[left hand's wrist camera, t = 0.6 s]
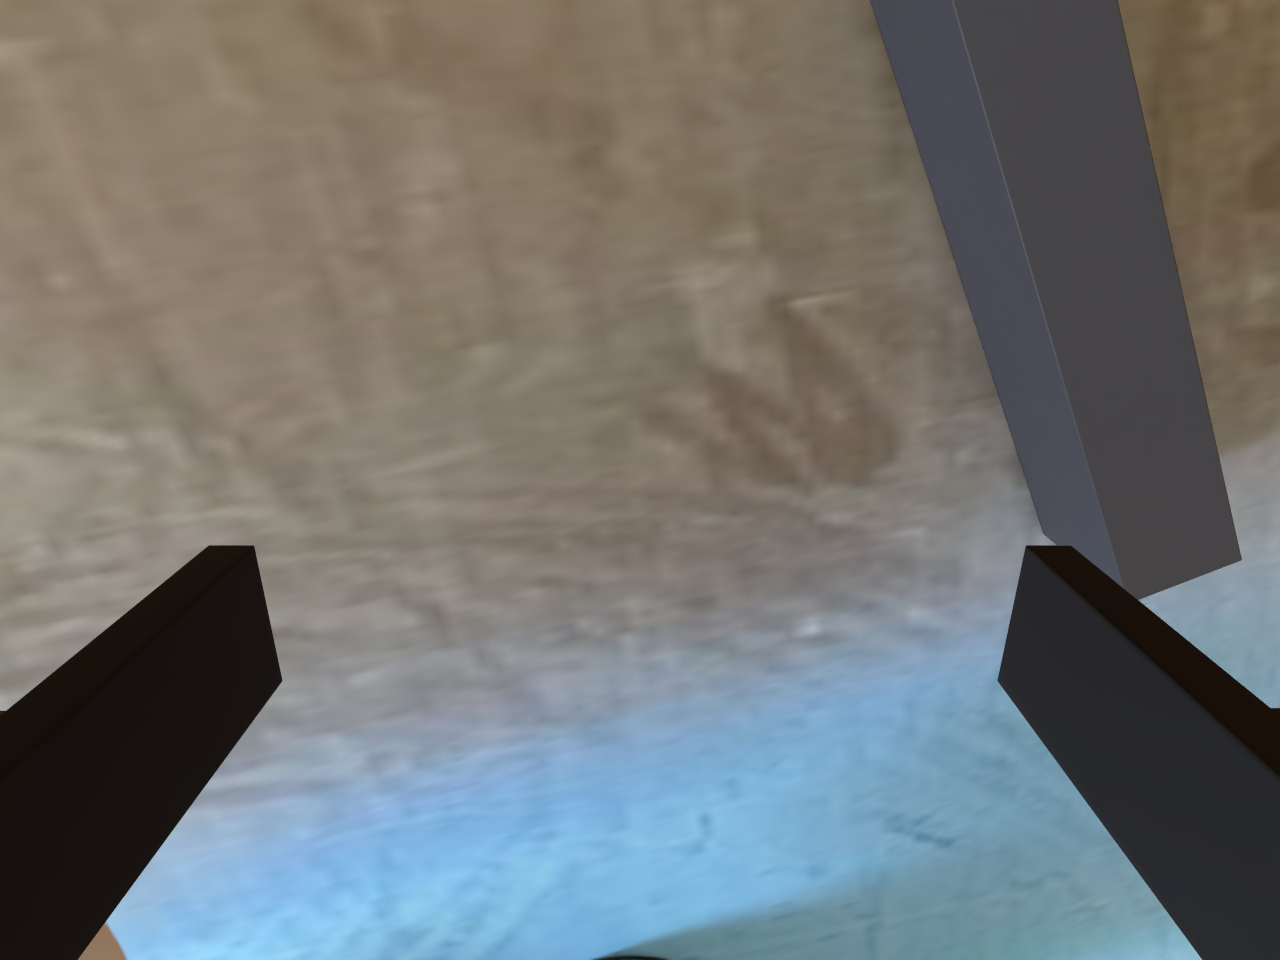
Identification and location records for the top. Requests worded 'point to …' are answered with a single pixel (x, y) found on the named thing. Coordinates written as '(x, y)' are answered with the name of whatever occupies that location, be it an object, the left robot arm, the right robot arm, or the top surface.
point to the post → (1069, 274)
